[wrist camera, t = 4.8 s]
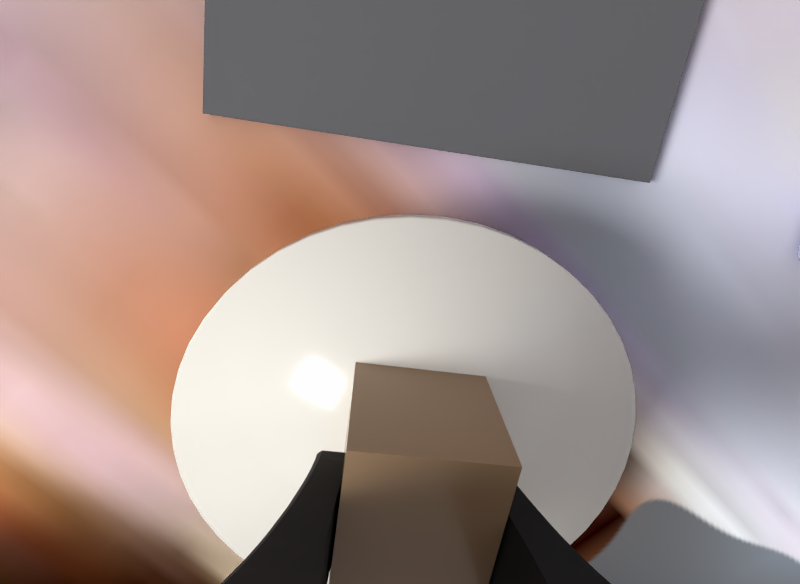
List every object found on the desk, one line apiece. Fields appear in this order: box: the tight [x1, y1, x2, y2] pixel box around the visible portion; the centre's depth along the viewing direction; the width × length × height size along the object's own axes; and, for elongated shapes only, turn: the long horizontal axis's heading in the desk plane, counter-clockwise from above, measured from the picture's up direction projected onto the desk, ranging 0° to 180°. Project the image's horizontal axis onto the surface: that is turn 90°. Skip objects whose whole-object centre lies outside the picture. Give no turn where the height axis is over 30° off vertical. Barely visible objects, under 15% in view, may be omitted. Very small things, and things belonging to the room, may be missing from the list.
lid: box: [171, 214, 636, 584], centre depth 12 cm, size 13×13×4 cm
